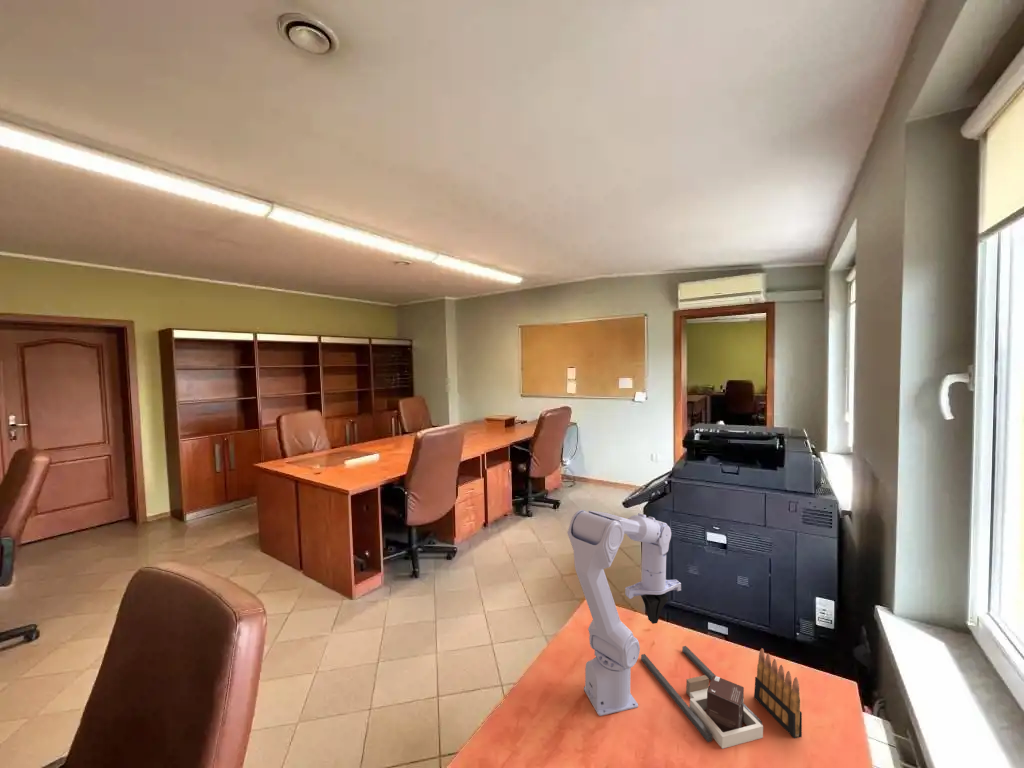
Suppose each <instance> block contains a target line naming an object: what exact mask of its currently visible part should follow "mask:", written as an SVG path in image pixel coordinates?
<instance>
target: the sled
mask: <svg viewBox="0 0 1024 768" xmlns="http://www.w3.org/2000/svg"><path fill="white" fill-rule="evenodd" d="M709 685H710V679H709V678H708V677H707V676H706V675H705V674H704V675H698V676H694V677H690V678H686V684H685V688H686V689H685V690H686V691H685V693H686V694H687V695H688V697H689V698H690V699H689V707H690V709H691V710H692V711H693V712H694V713H695V715H696V716H697V717H698V718H699V719H700V721H701V722H702V723H703V724H704V725H705V727H706V728H707V729H708V730H709V731H710V733H711V734H712V739H714V740H715V742H716V743H717V744H718V746H719V747H720V748H721V749H726V748H730V747H733V746H737V745H741V744H744V743H749V742H752V741H756V740H759V739H760V740H761V739H763V738H764V725H763V723H762V724H761V723H760V722H759V721H758V720H757V719H756V718H755V717H754V716H753V715H752V714H751V713H750V712H749V711H748V710H747V709H746V708H745V707H744V706H743V723H744V724H745V725H746V726H743V727H742V728H739V729H734V730H731V731H727V732H722V731H721V730H720V728H719V727H718V726H717V725H716V724H715V723H714V722H713V720H712V719H711V718H710V717H709V716H708V715H707V711H705V710H707V690H708V688H709Z"/></svg>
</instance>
